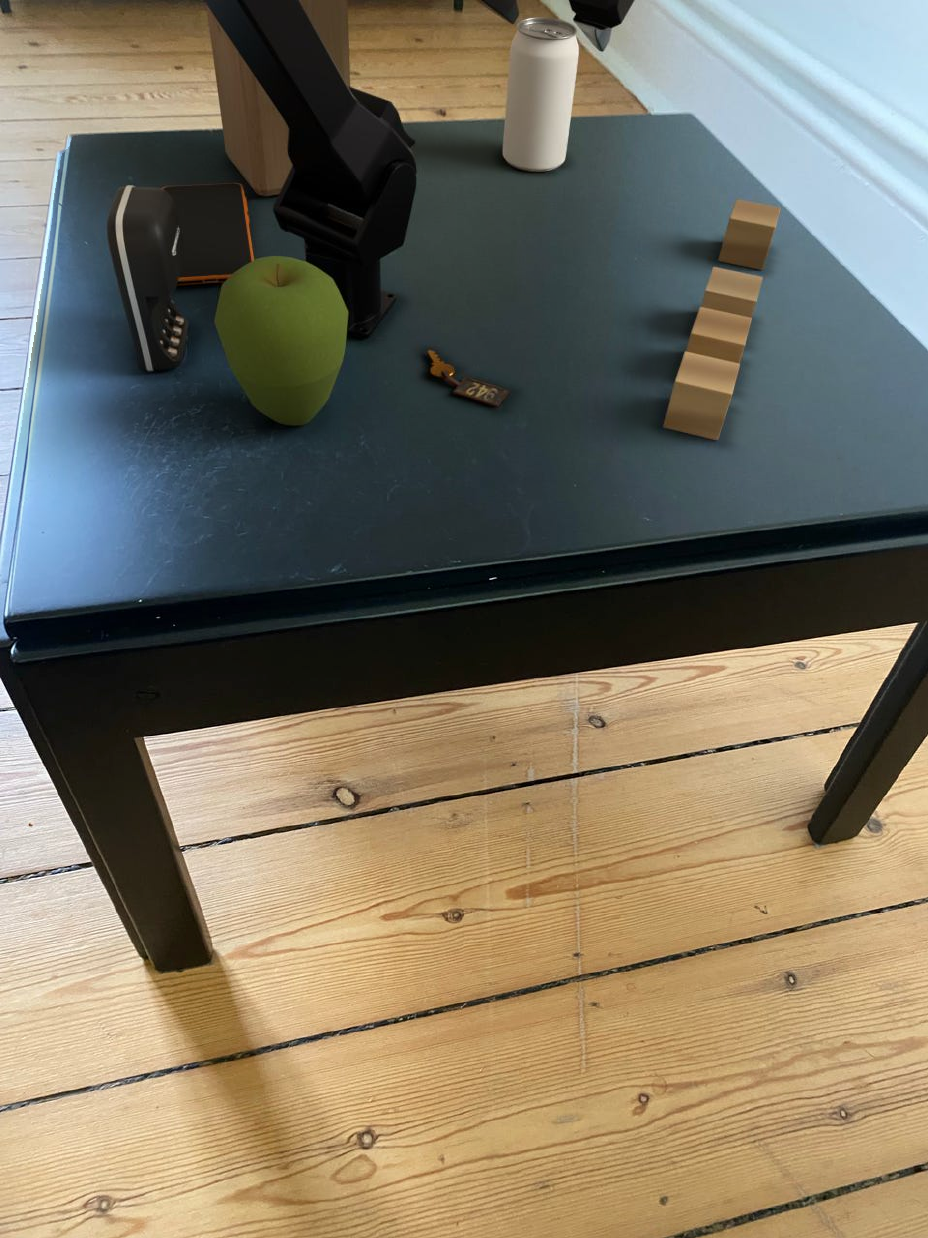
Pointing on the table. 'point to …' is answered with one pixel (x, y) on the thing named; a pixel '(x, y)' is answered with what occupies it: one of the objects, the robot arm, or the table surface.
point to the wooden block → (267, 99)
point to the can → (540, 94)
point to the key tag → (468, 384)
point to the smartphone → (212, 231)
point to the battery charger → (149, 273)
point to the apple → (283, 335)
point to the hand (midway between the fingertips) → (558, 32)
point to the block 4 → (701, 395)
